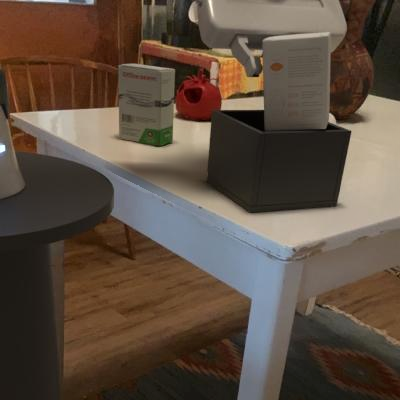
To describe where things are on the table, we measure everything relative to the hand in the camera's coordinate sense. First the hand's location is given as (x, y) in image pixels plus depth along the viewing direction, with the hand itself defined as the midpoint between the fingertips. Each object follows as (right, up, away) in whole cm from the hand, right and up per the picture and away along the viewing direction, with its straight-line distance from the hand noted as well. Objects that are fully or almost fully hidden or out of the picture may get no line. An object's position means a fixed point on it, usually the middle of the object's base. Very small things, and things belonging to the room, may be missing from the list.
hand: (288, 74), depth 77 cm
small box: (+1, -6, +2) cm, 6 cm away
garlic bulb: (+13, +11, +46) cm, 49 cm away
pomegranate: (-12, +16, +50) cm, 54 cm away
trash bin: (-1, -12, +9) cm, 15 cm away
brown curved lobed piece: (+16, +22, +64) cm, 70 cm away
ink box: (-21, +3, +30) cm, 37 cm away
